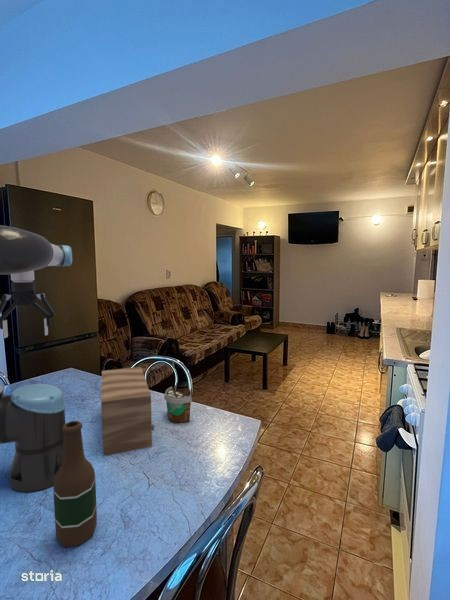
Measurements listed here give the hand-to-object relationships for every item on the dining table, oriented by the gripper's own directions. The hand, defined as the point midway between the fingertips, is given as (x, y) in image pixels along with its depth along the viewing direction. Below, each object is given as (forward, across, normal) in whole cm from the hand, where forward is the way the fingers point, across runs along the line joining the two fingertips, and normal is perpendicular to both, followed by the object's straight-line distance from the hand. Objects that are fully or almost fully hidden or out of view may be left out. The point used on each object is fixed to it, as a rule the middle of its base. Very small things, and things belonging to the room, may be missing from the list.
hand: (26, 336), depth 121 cm
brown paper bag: (+28, -34, +33) cm, 54 cm away
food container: (+28, -51, +33) cm, 67 cm away
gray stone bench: (+28, -39, +33) cm, 58 cm away
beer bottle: (+28, -21, +72) cm, 81 cm away
